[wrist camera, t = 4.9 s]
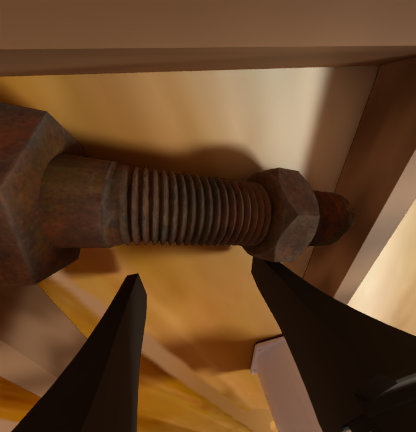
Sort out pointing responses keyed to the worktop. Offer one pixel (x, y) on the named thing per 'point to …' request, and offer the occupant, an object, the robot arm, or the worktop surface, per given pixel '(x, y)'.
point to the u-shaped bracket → (225, 60)
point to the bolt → (140, 204)
